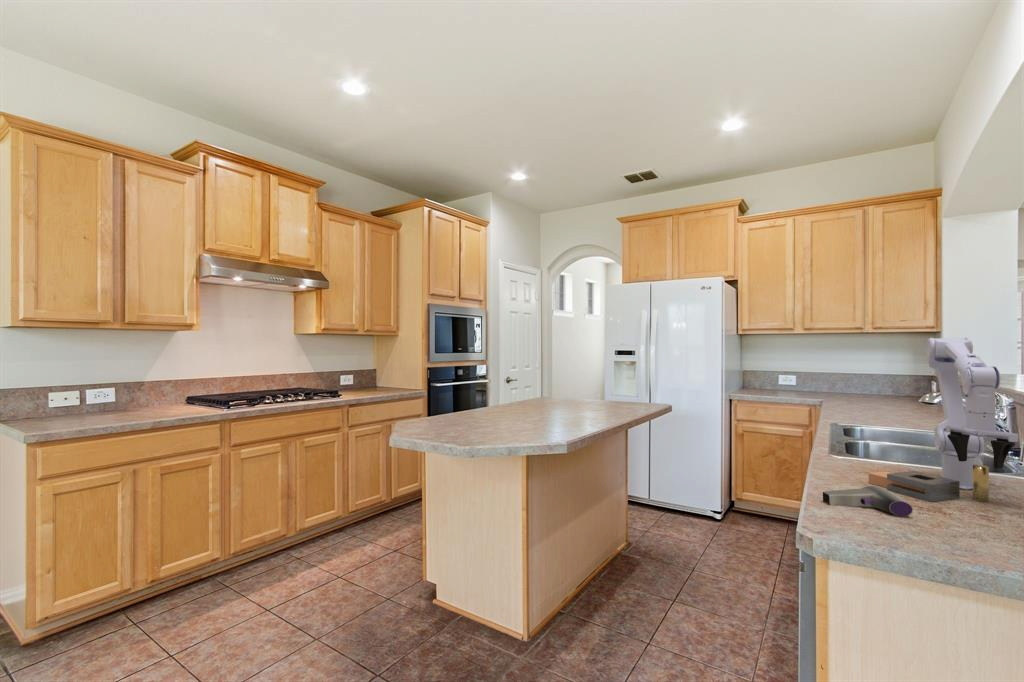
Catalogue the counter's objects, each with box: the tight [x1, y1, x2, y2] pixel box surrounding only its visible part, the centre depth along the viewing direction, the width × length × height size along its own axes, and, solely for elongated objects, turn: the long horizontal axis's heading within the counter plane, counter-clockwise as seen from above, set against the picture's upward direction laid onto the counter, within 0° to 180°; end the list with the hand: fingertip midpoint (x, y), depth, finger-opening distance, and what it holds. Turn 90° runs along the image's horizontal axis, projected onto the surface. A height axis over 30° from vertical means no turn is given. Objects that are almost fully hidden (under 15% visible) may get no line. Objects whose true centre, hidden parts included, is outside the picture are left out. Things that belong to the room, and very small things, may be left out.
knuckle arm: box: [868, 471, 925, 492], centre depth 137 cm, size 7×16×3 cm, turn 18°
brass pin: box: [972, 464, 990, 503], centre depth 128 cm, size 3×3×9 cm
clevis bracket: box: [886, 470, 961, 503], centre depth 133 cm, size 11×11×4 cm
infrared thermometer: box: [822, 485, 914, 518], centre depth 121 cm, size 5×12×15 cm
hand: (980, 464), depth 128 cm, fingers open, 7 cm apart
